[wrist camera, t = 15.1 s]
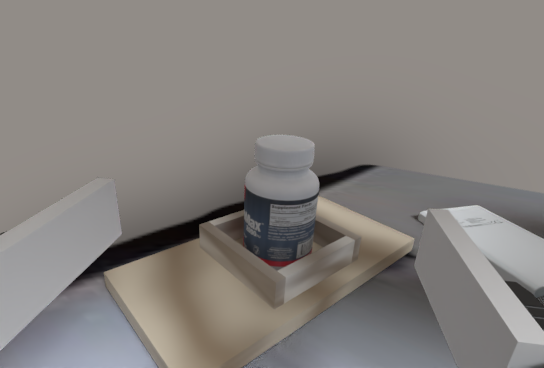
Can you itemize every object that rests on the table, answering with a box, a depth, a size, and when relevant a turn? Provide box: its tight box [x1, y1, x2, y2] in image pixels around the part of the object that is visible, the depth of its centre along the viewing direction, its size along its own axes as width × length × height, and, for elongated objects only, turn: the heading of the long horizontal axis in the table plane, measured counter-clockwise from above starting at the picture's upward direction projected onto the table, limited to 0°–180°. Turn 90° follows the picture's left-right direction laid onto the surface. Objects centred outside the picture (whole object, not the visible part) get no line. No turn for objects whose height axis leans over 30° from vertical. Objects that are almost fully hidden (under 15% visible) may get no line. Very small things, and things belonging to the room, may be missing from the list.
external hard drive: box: [418, 205, 544, 298], centre depth 31 cm, size 2×8×12 cm
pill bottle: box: [243, 135, 319, 271], centre depth 25 cm, size 5×5×9 cm
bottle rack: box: [104, 196, 415, 368], centre depth 26 cm, size 22×11×3 cm, turn 132°
